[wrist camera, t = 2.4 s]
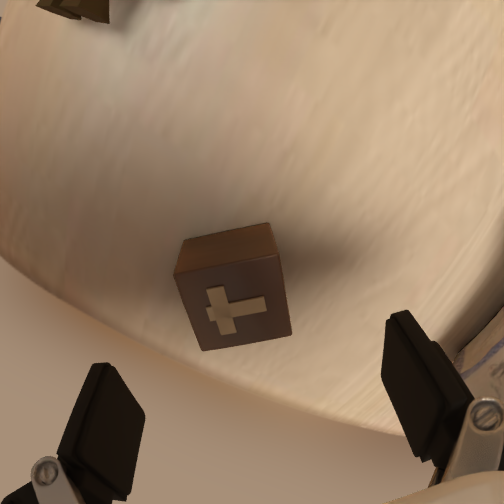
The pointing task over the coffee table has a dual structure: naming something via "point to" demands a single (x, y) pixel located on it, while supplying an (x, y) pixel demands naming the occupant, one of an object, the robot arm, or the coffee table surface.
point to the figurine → (78, 9)
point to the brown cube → (233, 287)
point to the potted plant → (484, 360)
